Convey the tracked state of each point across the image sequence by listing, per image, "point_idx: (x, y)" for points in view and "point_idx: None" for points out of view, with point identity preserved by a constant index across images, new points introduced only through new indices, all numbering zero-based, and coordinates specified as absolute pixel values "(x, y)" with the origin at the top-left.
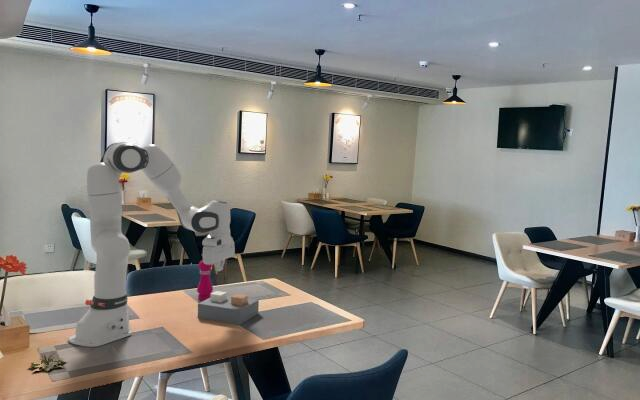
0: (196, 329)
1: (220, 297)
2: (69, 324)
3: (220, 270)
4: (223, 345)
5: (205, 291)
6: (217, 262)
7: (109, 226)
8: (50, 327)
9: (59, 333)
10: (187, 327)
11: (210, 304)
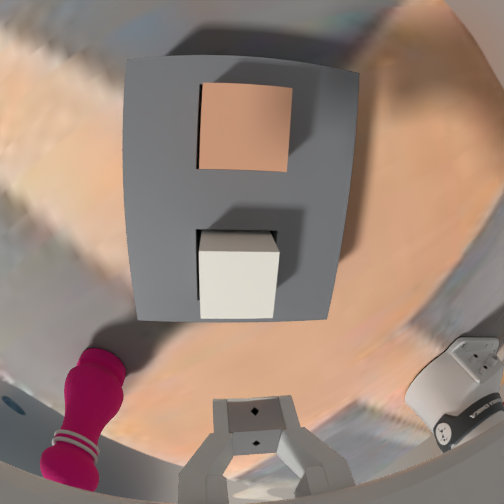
0: (418, 222)
1: (276, 248)
2: (401, 438)
3: (270, 398)
4: (487, 92)
5: (111, 381)
6: (348, 480)
7: None
8: (414, 440)
9: None
10: (407, 259)
11: (325, 263)
